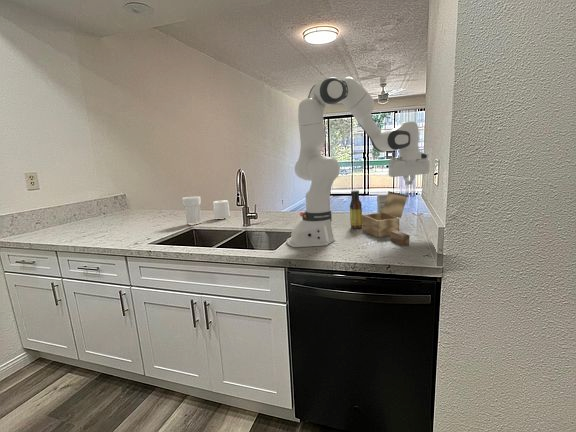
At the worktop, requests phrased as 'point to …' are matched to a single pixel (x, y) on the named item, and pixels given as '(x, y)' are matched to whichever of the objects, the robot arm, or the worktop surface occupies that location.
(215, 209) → the white tapered cylinder
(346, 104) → the robot arm
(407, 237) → the walnut batten
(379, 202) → the supplement box
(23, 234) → the worktop surface
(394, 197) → the lid
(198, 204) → the cup
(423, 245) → the worktop surface
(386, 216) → the bread box
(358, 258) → the worktop surface
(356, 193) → the sauce bottle
